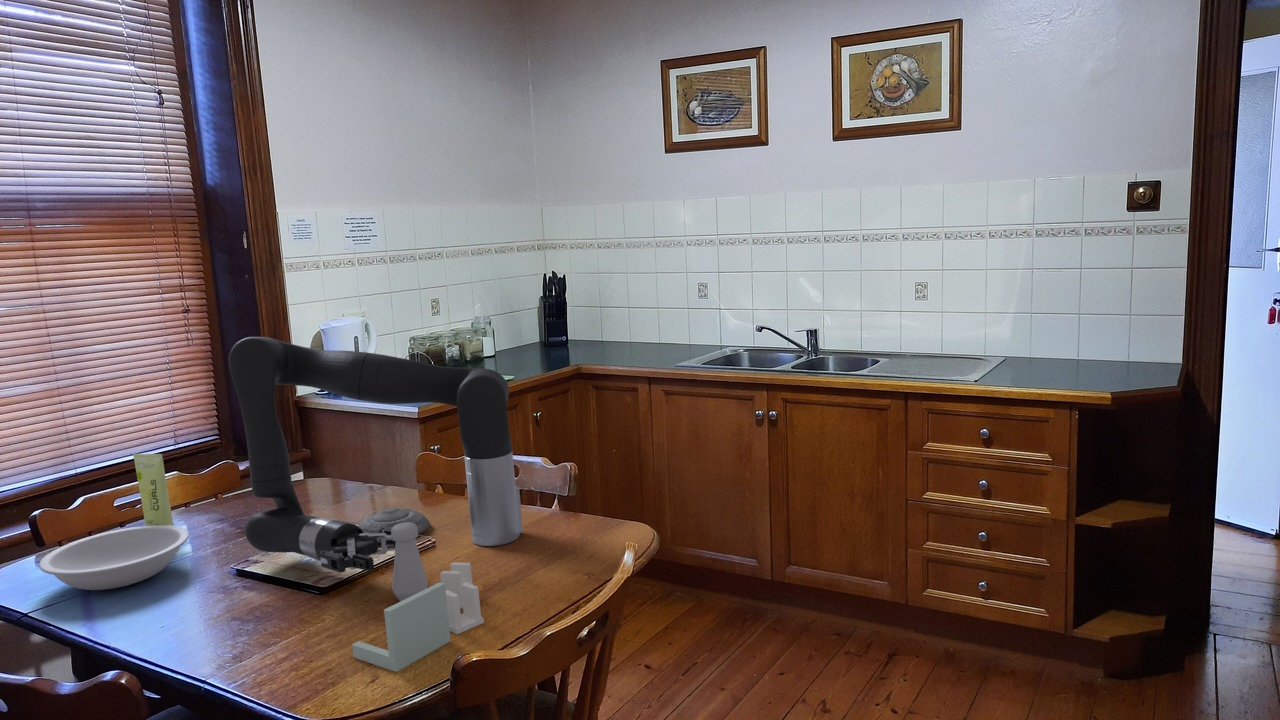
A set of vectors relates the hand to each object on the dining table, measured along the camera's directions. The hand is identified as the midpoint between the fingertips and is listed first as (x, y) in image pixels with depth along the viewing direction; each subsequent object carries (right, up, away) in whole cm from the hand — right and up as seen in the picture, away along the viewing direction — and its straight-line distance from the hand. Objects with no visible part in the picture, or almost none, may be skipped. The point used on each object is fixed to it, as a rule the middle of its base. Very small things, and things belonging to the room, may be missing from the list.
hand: (392, 555), depth 151 cm
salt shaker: (+3, -7, -1) cm, 8 cm away
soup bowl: (-54, -8, +16) cm, 57 cm away
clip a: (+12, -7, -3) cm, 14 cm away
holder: (+6, -10, -18) cm, 21 cm away
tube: (-56, -5, +34) cm, 66 cm away
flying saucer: (-9, -3, +32) cm, 34 cm away
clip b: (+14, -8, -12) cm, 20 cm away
